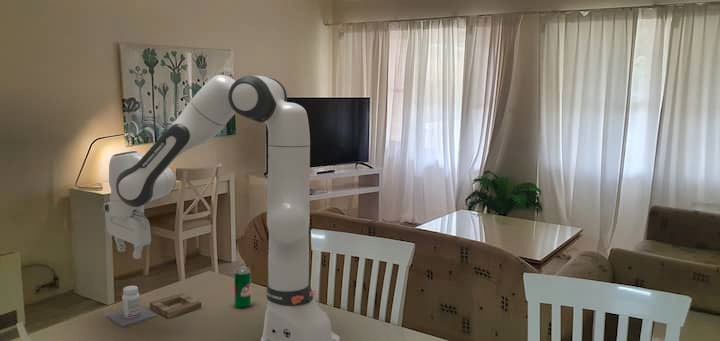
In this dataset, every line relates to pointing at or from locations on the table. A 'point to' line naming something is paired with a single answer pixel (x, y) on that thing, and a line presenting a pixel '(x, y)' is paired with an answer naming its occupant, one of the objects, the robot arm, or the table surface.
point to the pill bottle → (131, 302)
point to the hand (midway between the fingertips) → (129, 254)
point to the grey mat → (125, 322)
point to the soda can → (242, 287)
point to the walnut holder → (168, 312)
